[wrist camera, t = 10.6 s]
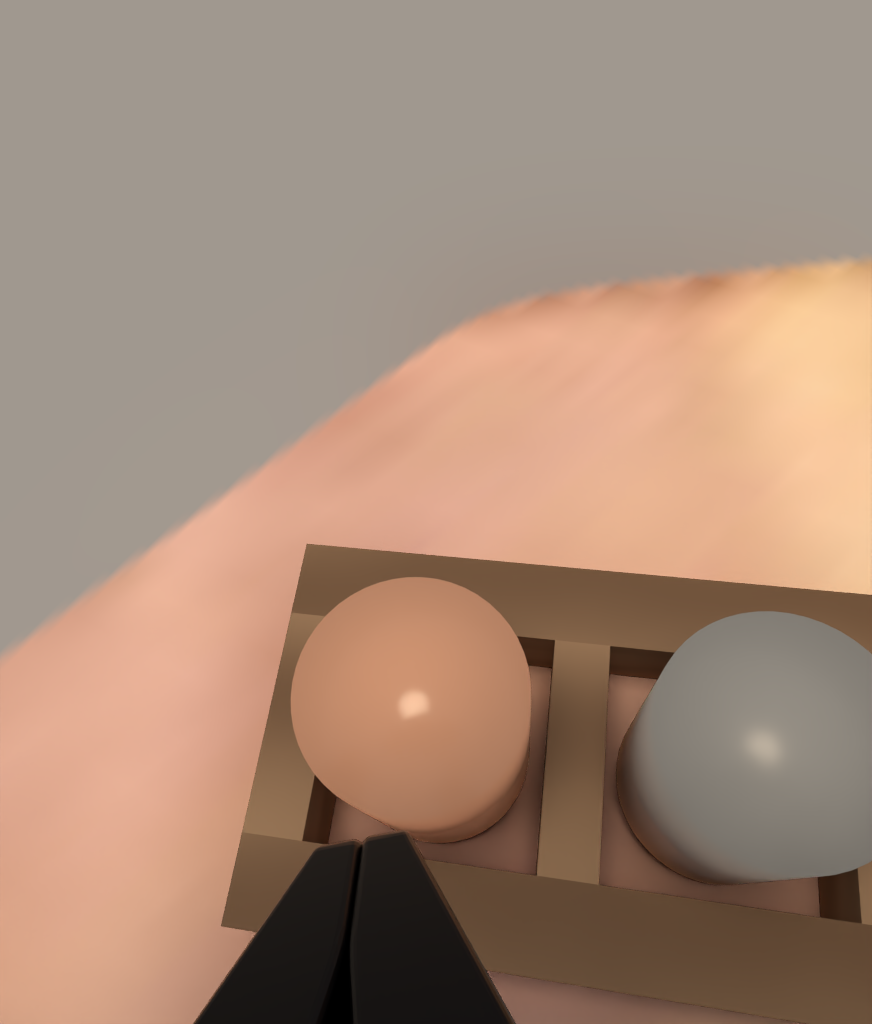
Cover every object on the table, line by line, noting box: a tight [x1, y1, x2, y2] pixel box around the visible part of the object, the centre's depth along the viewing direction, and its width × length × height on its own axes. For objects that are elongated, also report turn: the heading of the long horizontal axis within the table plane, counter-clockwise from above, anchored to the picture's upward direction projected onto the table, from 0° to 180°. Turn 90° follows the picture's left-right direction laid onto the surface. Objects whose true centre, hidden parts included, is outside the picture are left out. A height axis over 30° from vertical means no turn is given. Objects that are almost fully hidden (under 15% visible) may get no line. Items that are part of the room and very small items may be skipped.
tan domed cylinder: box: [291, 577, 531, 843], centre depth 17 cm, size 4×4×6 cm
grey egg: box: [616, 611, 872, 885], centre depth 16 cm, size 4×4×6 cm
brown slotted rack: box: [221, 544, 872, 1024], centre depth 19 cm, size 9×21×2 cm, turn 82°
